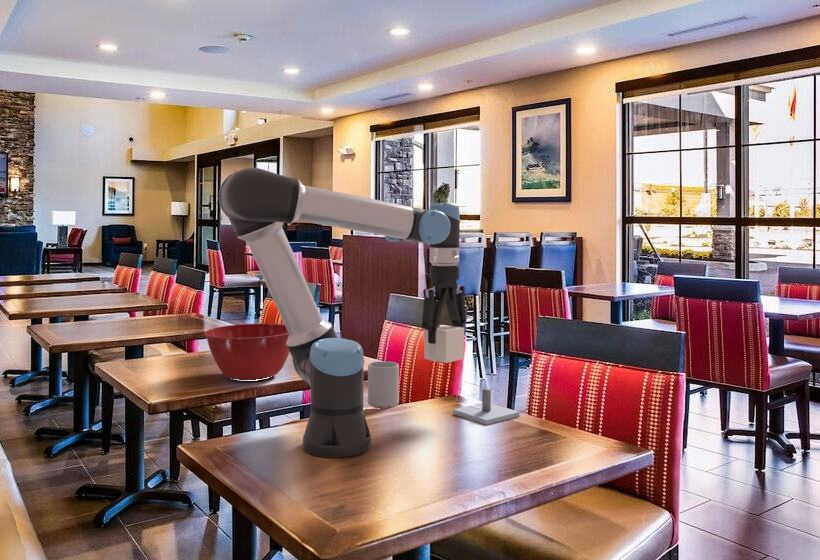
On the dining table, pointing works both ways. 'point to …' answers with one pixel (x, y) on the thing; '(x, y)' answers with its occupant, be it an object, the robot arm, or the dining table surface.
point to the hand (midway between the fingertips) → (444, 353)
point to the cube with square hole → (447, 344)
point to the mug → (383, 384)
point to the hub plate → (486, 411)
